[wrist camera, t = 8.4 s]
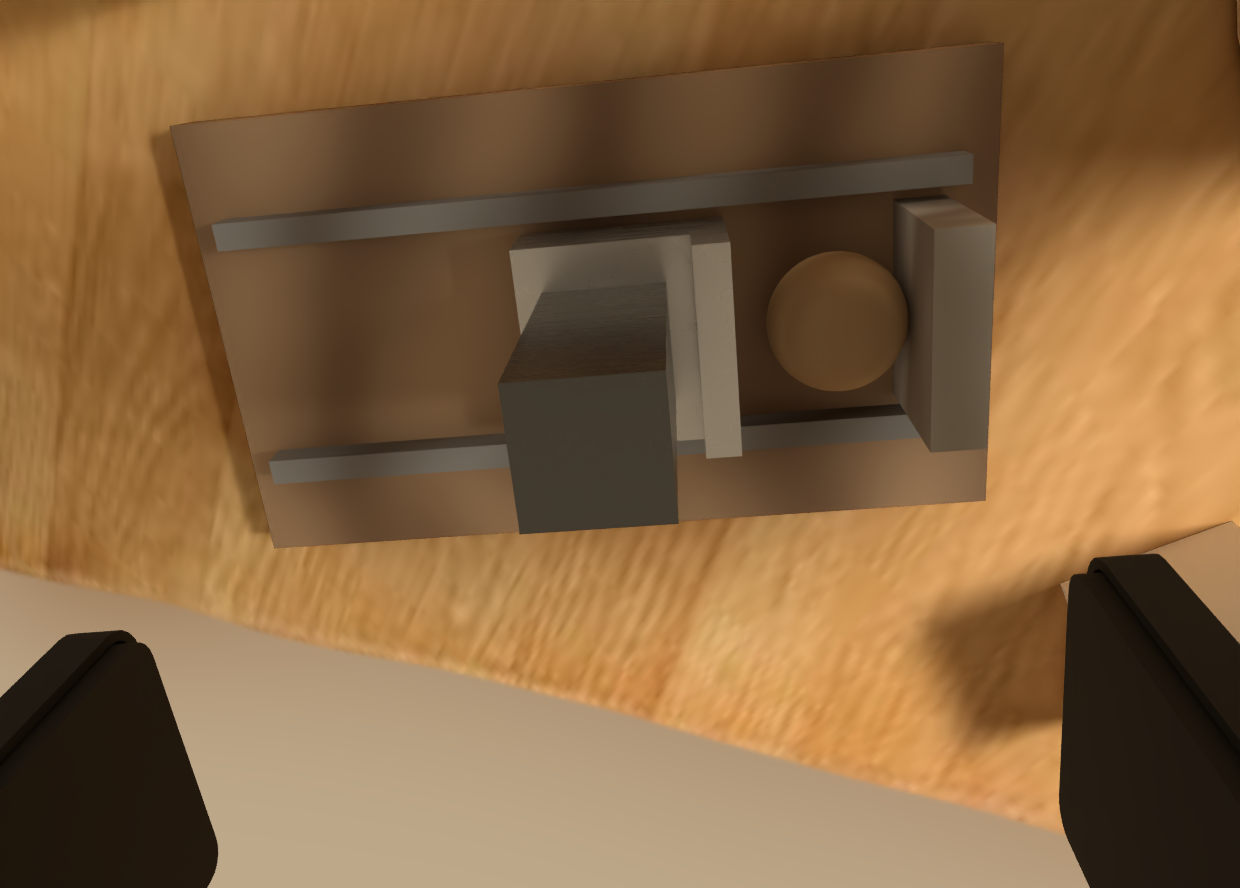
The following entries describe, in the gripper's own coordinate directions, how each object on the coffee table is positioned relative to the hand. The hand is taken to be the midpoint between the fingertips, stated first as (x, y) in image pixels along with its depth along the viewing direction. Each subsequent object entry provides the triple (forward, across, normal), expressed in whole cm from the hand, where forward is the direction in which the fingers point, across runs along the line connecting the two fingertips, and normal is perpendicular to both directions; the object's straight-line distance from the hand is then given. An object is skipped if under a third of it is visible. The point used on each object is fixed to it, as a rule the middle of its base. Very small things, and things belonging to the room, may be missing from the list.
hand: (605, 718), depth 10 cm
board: (+24, +2, +2) cm, 24 cm away
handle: (+22, +1, +2) cm, 22 cm away
